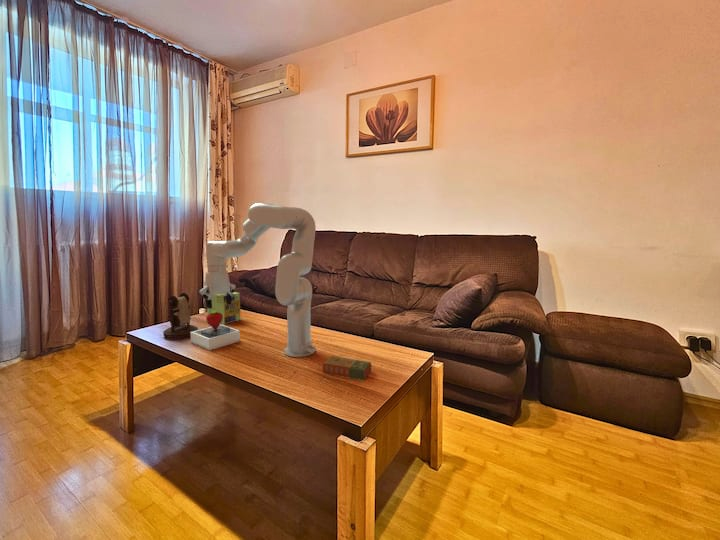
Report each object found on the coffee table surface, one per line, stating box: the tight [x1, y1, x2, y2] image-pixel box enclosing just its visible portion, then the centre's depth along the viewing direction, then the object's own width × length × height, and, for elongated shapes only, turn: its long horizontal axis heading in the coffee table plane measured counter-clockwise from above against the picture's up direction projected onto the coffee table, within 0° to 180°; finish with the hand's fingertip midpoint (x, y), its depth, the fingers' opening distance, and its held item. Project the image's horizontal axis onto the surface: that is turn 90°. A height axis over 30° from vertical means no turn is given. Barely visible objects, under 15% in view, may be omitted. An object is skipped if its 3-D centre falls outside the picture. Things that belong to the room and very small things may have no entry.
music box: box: [163, 292, 199, 340], centre depth 164 cm, size 15×15×20 cm
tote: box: [190, 323, 241, 351], centre depth 156 cm, size 15×15×5 cm
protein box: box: [206, 291, 242, 325], centre depth 190 cm, size 10×15×16 cm
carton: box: [322, 355, 372, 381], centre depth 126 cm, size 8×16×4 cm, turn 70°
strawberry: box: [205, 307, 223, 329], centre depth 155 cm, size 6×8×10 cm
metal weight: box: [201, 324, 230, 338], centre depth 156 cm, size 6×10×5 cm, turn 150°
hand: (219, 306), depth 157 cm, fingers open, 9 cm apart
